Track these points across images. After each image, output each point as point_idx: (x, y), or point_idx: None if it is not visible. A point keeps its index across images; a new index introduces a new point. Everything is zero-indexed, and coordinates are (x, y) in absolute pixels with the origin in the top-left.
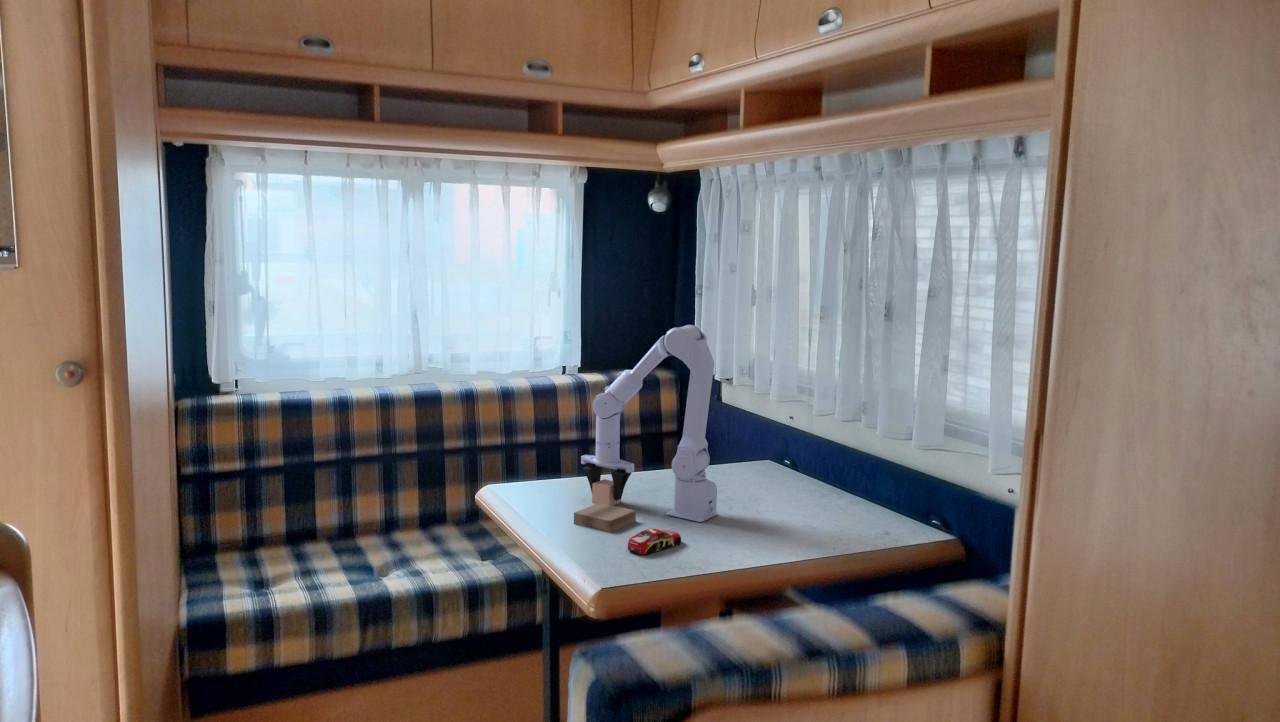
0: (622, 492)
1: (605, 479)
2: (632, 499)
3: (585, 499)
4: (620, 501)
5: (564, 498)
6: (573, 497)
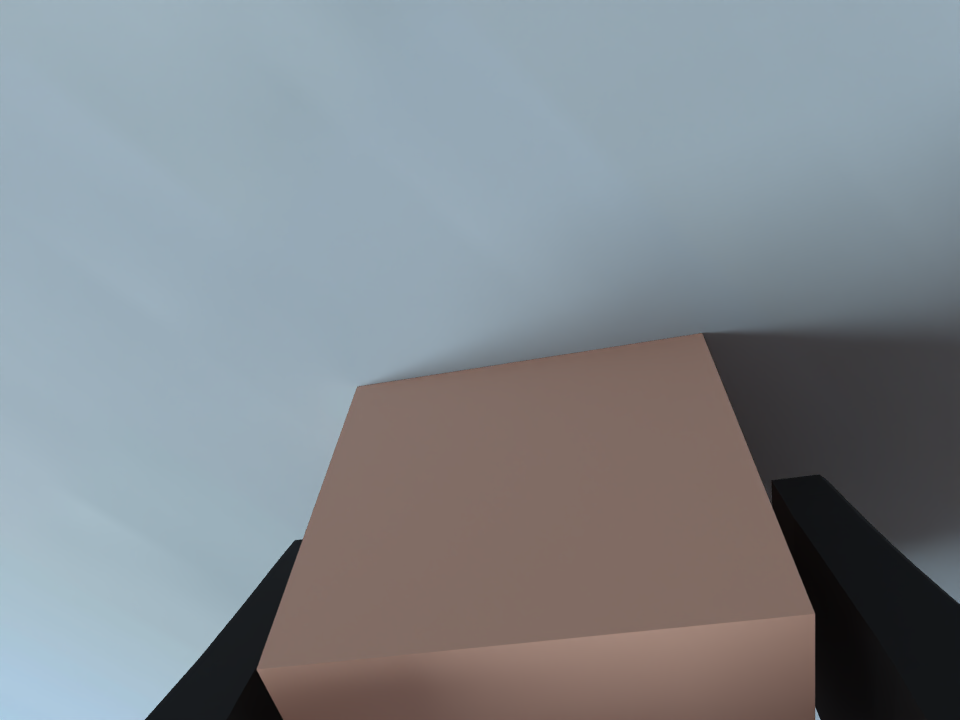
0: (886, 548)
1: (293, 673)
2: (758, 38)
3: (242, 578)
4: (705, 352)
5: (75, 692)
6: (81, 615)
